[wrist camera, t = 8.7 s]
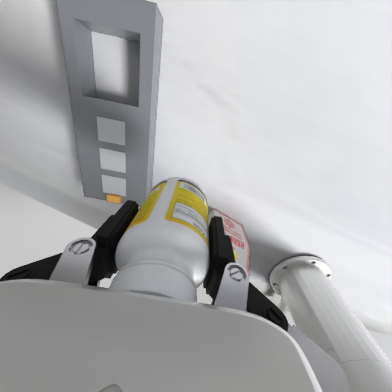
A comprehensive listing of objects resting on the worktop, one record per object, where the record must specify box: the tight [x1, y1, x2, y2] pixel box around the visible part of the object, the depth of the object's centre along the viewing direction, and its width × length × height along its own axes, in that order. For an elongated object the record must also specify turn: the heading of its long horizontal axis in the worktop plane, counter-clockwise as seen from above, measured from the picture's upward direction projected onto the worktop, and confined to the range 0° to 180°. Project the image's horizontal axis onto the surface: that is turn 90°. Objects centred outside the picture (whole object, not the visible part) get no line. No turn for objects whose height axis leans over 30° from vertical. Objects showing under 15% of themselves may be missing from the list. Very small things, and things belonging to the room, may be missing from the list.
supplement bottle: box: [109, 177, 210, 302], centre depth 11 cm, size 5×5×10 cm
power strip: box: [56, 0, 163, 207], centre depth 22 cm, size 24×10×4 cm, turn 169°
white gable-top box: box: [208, 209, 250, 276], centre depth 27 cm, size 4×7×10 cm, turn 57°
